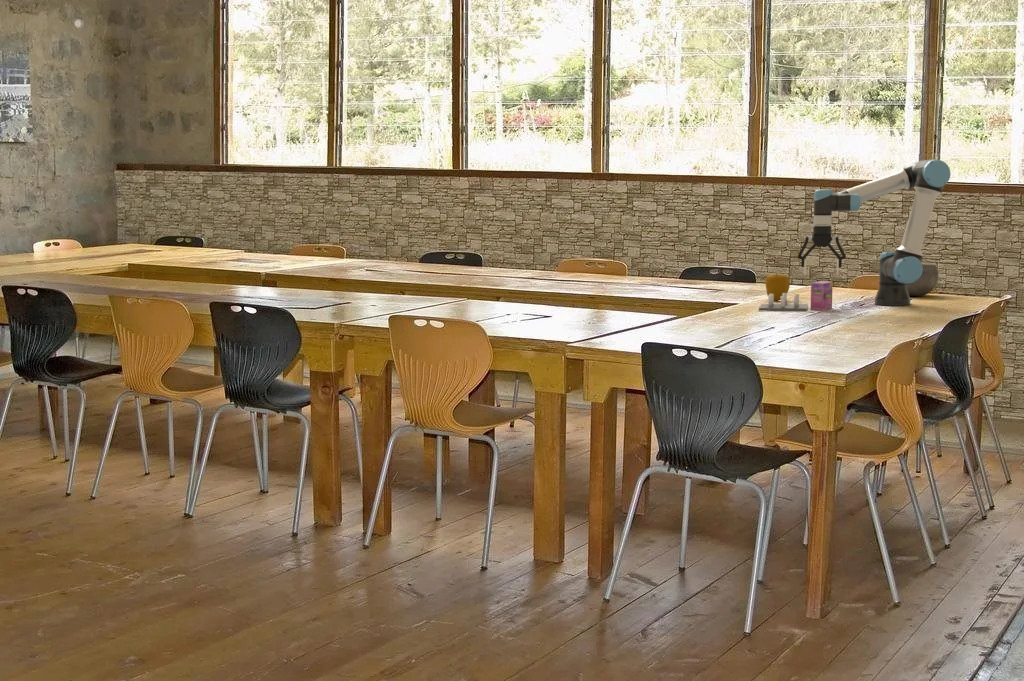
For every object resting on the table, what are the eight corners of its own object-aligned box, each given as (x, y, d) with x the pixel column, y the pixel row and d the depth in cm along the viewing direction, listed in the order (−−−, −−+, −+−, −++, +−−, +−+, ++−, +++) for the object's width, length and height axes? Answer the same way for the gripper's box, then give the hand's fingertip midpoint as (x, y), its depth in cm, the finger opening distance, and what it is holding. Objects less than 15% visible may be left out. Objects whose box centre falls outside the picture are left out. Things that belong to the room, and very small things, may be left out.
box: (822, 310, 542) (823, 283, 540) (810, 310, 545) (810, 282, 544) (832, 308, 550) (833, 281, 549) (820, 307, 554) (820, 280, 552)
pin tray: (808, 307, 558) (808, 292, 557) (806, 311, 541) (806, 296, 540) (761, 306, 563) (761, 292, 562) (758, 310, 546) (758, 296, 545)
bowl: (900, 293, 613) (900, 262, 611) (943, 295, 601) (944, 263, 599) (885, 297, 596) (885, 265, 594) (929, 298, 584) (930, 266, 582)
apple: (792, 299, 591) (792, 272, 590) (784, 302, 582) (784, 274, 581) (770, 299, 597) (770, 271, 595) (761, 301, 588) (761, 273, 586)
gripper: (852, 225, 544) (851, 274, 546) (793, 225, 550) (791, 273, 553) (852, 225, 536) (851, 275, 539) (792, 225, 543) (791, 275, 546)
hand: (821, 275), depth 546 cm, fingers open, 13 cm apart
